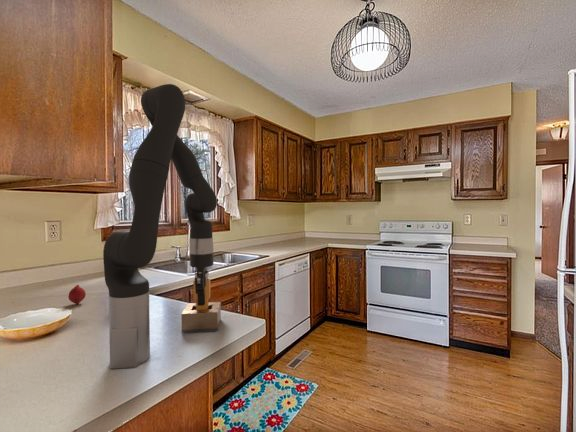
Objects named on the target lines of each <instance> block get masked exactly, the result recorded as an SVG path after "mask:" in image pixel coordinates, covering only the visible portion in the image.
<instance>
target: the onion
mask: <svg viewBox="0 0 576 432" xmlns="http://www.w3.org/2000/svg"><path fill="white" fill-rule="evenodd" d="M86 294H87V293H86V290H85V289H84V288H83V287H81V286H80V284H76V285H75V286H74V287H73V288H71V290H70V291H69V293H68V296H67V297H68V300H69V301H70V302H71V303H74V304H76V305H79V304H80V303H81V302H82V301H84V299H85V298H86Z"/></svg>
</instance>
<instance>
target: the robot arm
mask: <svg viewBox="0 0 576 432" xmlns="http://www.w3.org/2000/svg"><path fill="white" fill-rule="evenodd" d="M140 105H141V108H142V111H143V112H144V115H145V117H146V119H147V120H148V122H149V123H150V125H151V126H152V127H151V128H150V130H149V132H148V133H147V135H146V136H145V138H144V139H143V141H142V142H141V144H140V145H139V147H138V148H137V150H136V151H135V154H134V156H133V159H132V161H131V167H130V171H129V175H128V184H129V185H128V186H129V191H130V194H131V198H132V201H133V207H134V210H133V217H132V222H131V225H130V228H129V230H116V231H114V232H112V233H111V234H110V235H108V237H107V239H106V240H105V241H104V245H103V252H102V253H103V254H102V258H103V259H102V260H103V272H104V282H105V286H106V287H107V289H108V321H109V322H108V323H109V327H108V328H109V329H108V330H109V331H108V332H109V333H108V335H109V336H108V337H109V339H108V340H109V368H110V369H111V370H112V369H113V370H114V369H126V368H127V369H128V368H138V366H139V365H140V364H143V363H145V362H146V361H148V360H149V359H150V357H151V343H150V342H151V338H150V337H151V334H150V333H151V331H150V329H151V328H150V324H151V323H150V318H151V317H150V282H149V280H148V279H147V278H146V277H145V276H143V275H142V274H141V272H140V270H139V269H140V268H144V267H147V265H150V263H151V261H152V260H153V258H154V256H155V253H156V250H157V243H158V235H159V233H158V232H159V224H160V214H161V210H162V204H163V198H164V193H165V189H166V185H167V182H168V176H169V172H170V166H171V162H172V163H173V166H174V168H175V171H176V172H177V175H178V179H179V180H180V182H181V185H182V186H183V187H184V188H186V189H190V190H191V192H189V193H188V194H187V195H186V198H185V213H186V215H187V220H188V222H189V225H190V226H189V227H190V228H189V229H190V235H189V236H190V239H189V240H190V241H189V242H190V243H189V266H190V267H191V268H196V272H194V280H195V289H196V294H198V306H203V305H204V304H205V286H206V285H207V279H209V275H210V273H209V270H208V268H210V267H212V266H213V265H214V241H213V223H212V221H210V220H208V219H206V218H205V213H207V214H208V213H212V212H214V211H215V210H216V208H217V206H218V199H217V196H216V195H217V194H216V193H215V192H214V190H213V188H212V186H211V185H210V184H209V182H208V181H207V179H205V177H204V175H203V172H202V169H201V167H200V164H199V162H198V160H197V157H196V155H195V154H194V153H193V151H192V150H191V149H190V148H189V147H188V146H187V145H186V143H185V142H184V141H183V140H182V139H181V137H180V136H179V135H178V133H179V130H180V127H181V123H182V120H183V118H184V115H185V111H186V98H185V95H184V93H183V91H182V89H181V88H180V87H179V86H178V85H175V84H172V83H168V84H167V83H166V84H162V85H159V86H156V87H152V88H149V89H147V90H145V91H143V93H142V94H141V96H140ZM194 280H193V281H194ZM204 282H205V283H204ZM199 288H202V290H199Z"/></svg>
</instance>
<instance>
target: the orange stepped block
mask: <svg viewBox="0 0 576 432" xmlns="http://www.w3.org/2000/svg"><path fill="white" fill-rule="evenodd" d="M204 283H205V282H204ZM192 284H193V286H192V287H193V300H195V303H196V310H207V309H208V302H209V299H211V278H208V279H207V285H206V286H205V304H204V305H203V306H198V294H196V289H195V280H193V283H192ZM199 290H202V288H199Z"/></svg>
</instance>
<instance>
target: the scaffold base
mask: <svg viewBox="0 0 576 432" xmlns="http://www.w3.org/2000/svg"><path fill="white" fill-rule="evenodd" d="M221 311H222V309H221V301H215V302H213V301H212V302H210V301H208V309H207V310H196V302H191V303H189V302H188V303H187V305H186V306H185V308H184V309H183V310H182V313H181V334H182V333H184V334H199V332H203V333H217V332H216V331H219V327H220V324H221V319H222V318H221V314H222V313H221ZM197 332H198V333H197Z"/></svg>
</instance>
